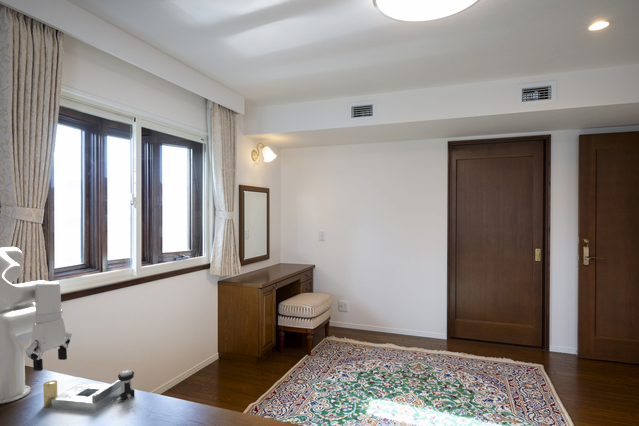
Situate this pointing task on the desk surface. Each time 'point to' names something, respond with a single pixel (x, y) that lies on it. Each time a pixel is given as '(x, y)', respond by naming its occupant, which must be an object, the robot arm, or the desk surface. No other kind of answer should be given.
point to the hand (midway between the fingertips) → (50, 364)
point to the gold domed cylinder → (49, 392)
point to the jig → (79, 396)
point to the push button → (126, 385)
